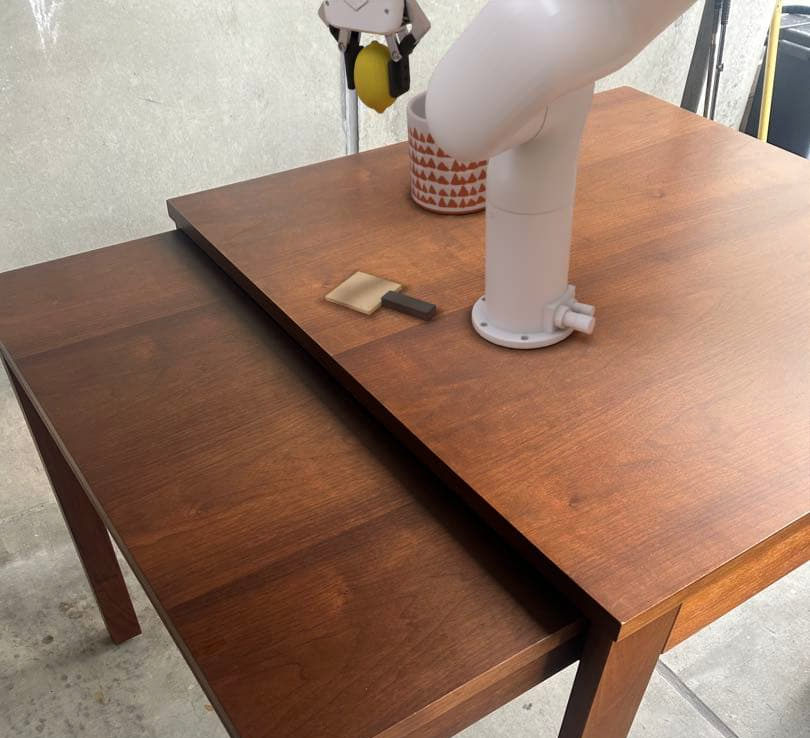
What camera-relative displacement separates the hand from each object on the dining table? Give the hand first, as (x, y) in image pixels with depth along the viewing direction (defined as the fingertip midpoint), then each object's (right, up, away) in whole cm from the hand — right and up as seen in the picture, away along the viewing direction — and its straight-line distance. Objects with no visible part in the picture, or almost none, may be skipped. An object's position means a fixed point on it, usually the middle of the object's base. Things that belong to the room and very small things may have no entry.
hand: (378, 88), depth 102 cm
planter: (+11, -3, +25) cm, 27 cm away
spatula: (+1, -24, +6) cm, 24 cm away
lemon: (0, -2, +2) cm, 3 cm away
